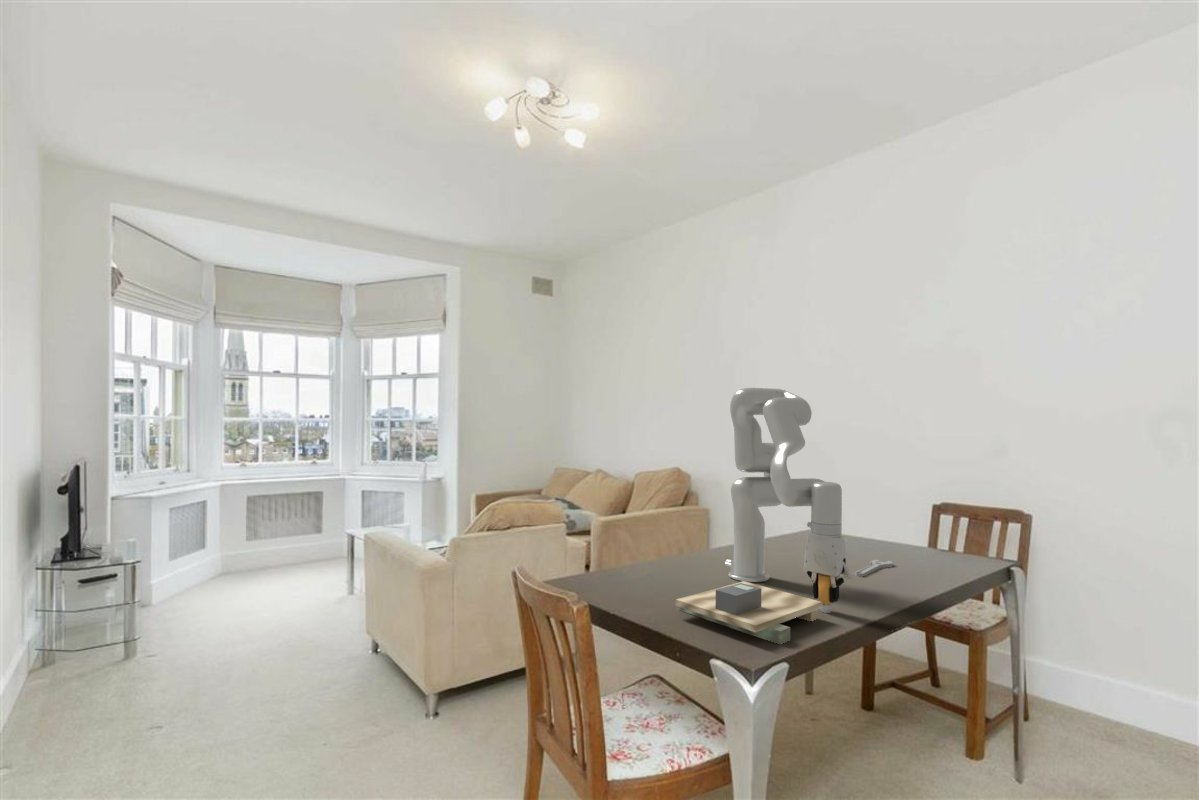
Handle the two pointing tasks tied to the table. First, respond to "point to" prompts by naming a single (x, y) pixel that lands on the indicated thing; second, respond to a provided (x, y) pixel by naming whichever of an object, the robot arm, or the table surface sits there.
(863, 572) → the adjustable wrench
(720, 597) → the block
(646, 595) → the table surface
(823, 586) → the orange and grey cylinder
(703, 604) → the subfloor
